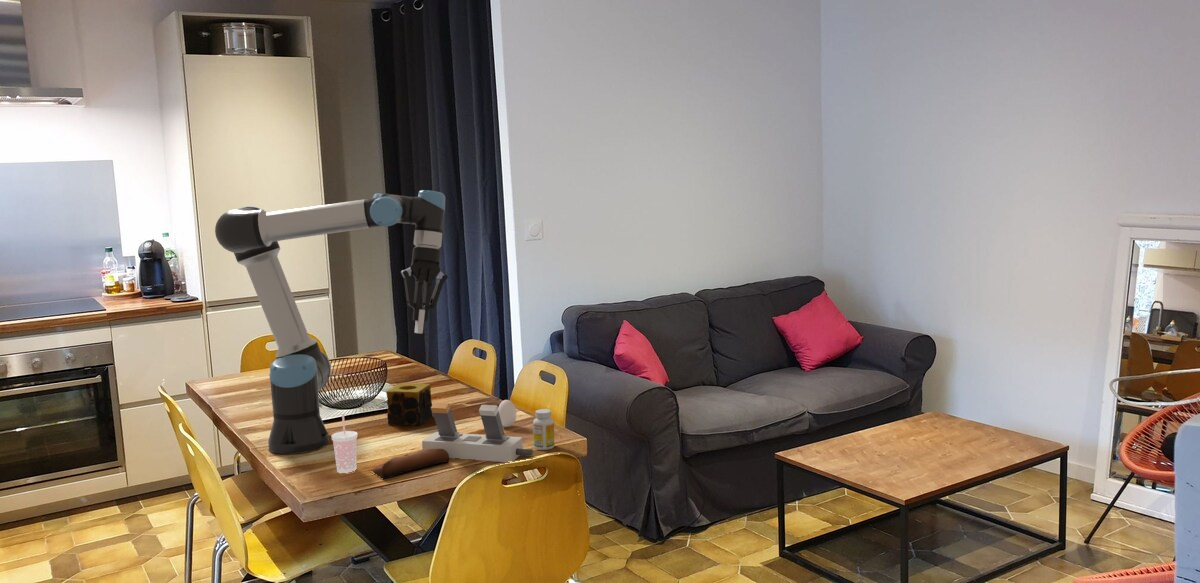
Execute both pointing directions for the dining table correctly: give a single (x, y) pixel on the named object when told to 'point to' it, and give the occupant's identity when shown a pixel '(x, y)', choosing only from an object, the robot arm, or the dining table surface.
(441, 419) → the switch orange
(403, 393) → the candle
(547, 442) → the supplement bottle
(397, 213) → the robot arm
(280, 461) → the dining table surface
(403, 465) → the sunglasses case
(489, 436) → the switch white
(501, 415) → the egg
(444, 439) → the power strip
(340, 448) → the beverage cup
